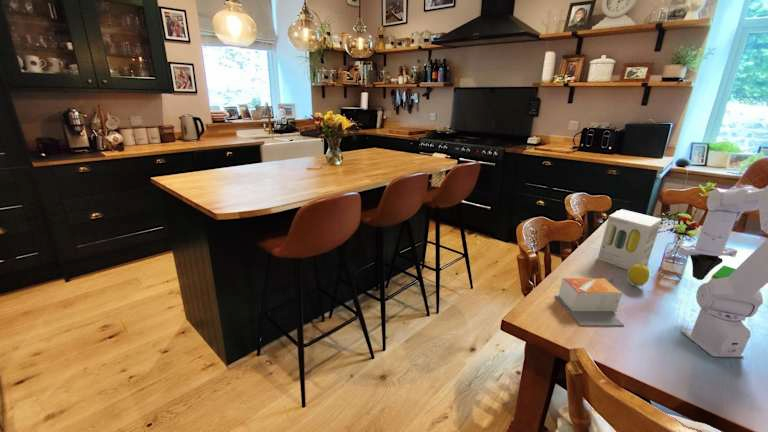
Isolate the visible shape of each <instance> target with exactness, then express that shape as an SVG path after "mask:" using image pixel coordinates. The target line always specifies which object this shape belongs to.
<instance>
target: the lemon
mask: <svg viewBox="0 0 768 432" xmlns="http://www.w3.org/2000/svg"><path fill="white" fill-rule="evenodd" d="M649 278H650V271H649V268H648V267H647V266H646V265H645V266H644V265H643V264H636V265H633V266H632V267H631V268H630V269H629V270H628V272H627V279H628V281H629V282H630V283H631V284H632V285H633V286H634V287H637V286H638V287H639V286H644V285H646V284H647V283H648V280H649Z"/></svg>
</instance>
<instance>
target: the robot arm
mask: <svg viewBox="0 0 768 432" xmlns="http://www.w3.org/2000/svg"><path fill="white" fill-rule="evenodd" d="M706 207H707V209H708V211H707V213H706V216H705V218H704V222H703V223H702V227H701V229H700V232H699V235H698V238H697V240H696V241H695V242H693V244H692V245H691V244H690V245H687V246H686V245H685V246H680V247H679V250H678V254H680V255H682V256H683V257H687V256H690V260H691V266H692V277H693V278H695V279H696V280H698V281H703V280H704V279H705V278H706V277H707V275H709V273H710V272H711V271H712V270H713V269H714V268H715V267H717V266H719V265H720V264H722V263H723V261H724V260H723V258H721V256H726V257H727V256H728V257H732V258H735V257H736V255H737V253H738V250H737V249H735V248H733V247H731V246H730V247H728V246H726V245H727V243H728V240H729V237H730V235H731V232H732V231H733V227H734V225H735V223H736V222H737V221H738V220H740V218H741V216H742V214H743V213H745V212H754V211H757V210H759V213H758V214H759V223H760V230H761V231H762V232H764V233H765V234H767V235H768V185H766V186H765V187H764V188H757V187H754V185H753V184H752V185H751V184H743V185H741V187H740V188H739V187H731V188H730V189H727V190H726V189H721V188H716V187H715V189H712V190H711V191H710V192H709V194H708V197H707V200H706ZM735 269H736V270H735V271H734V272H733V273H732V274H731V275H729V276H728V277H724V278H717V279H711V278H710V280H709V281H708V282H704V283H701V285H700V286H698V288H697V290H696V295H695V297H696V298H695V300H696V303H697V305H698V306H699V307H700V311H699V312H698V316H697V318H696V320H695V323H694V325H693V328H692V329H682V330H681V333H683V334H684V335H685V336H686V337H687V338H689V339H690V340H692V341H693V342H694V343H695V344H697V345H698V347H700V348H702V350H704V351H705V352H706V353H708V354H709V355H710V356H711V357H714V358H715V357H716V358H719V357H721V358H722V357H723V358H724V357H726V358H729V357H731V358H743V357H745V354H744V353H743V352H744V350H745V348H746V346H747V345H748V342H749V339H750V337H751V330H750V329H749V328H748V327H747V326H746V325H745V324H744V323H743V322H745V321H746V318H751V317H753V316H755V315H756V314H757V313H758V310H759V308H760V307H761V306H762V305H763V304H764V300H763V295H762V291H760V290H762V288H763V287H764V286H766V285H767V284H768V237H767V238H766V239H765V240H764V241H763V242H762V243H761V244H760V245H759V246H758V247H757V248H756V249H754V251H753V252H752V253H751V254H750V255H749V256H748V257H747V258H746V259H744V261H742V263H740V264H739V266H737V267H736V268H735Z"/></svg>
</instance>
